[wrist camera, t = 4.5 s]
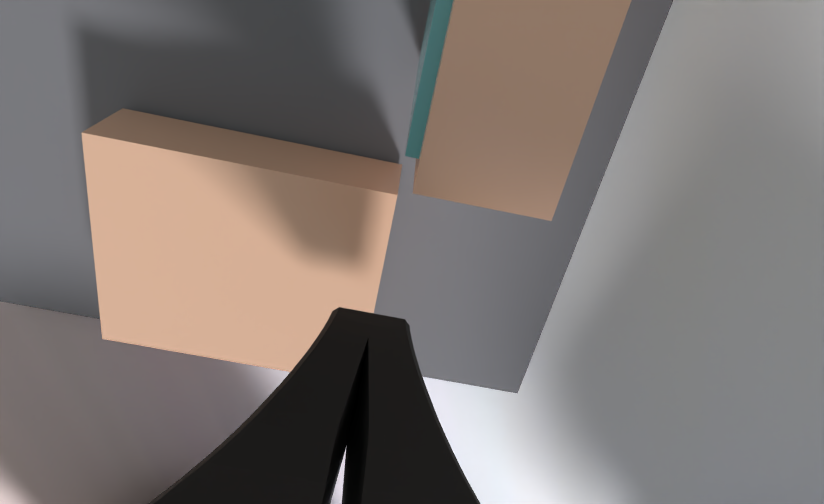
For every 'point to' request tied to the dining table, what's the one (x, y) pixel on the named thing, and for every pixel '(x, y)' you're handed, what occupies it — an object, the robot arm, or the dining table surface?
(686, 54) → the dining table surface
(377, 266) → the tile
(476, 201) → the tile
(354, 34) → the mat
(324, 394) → the robot arm
